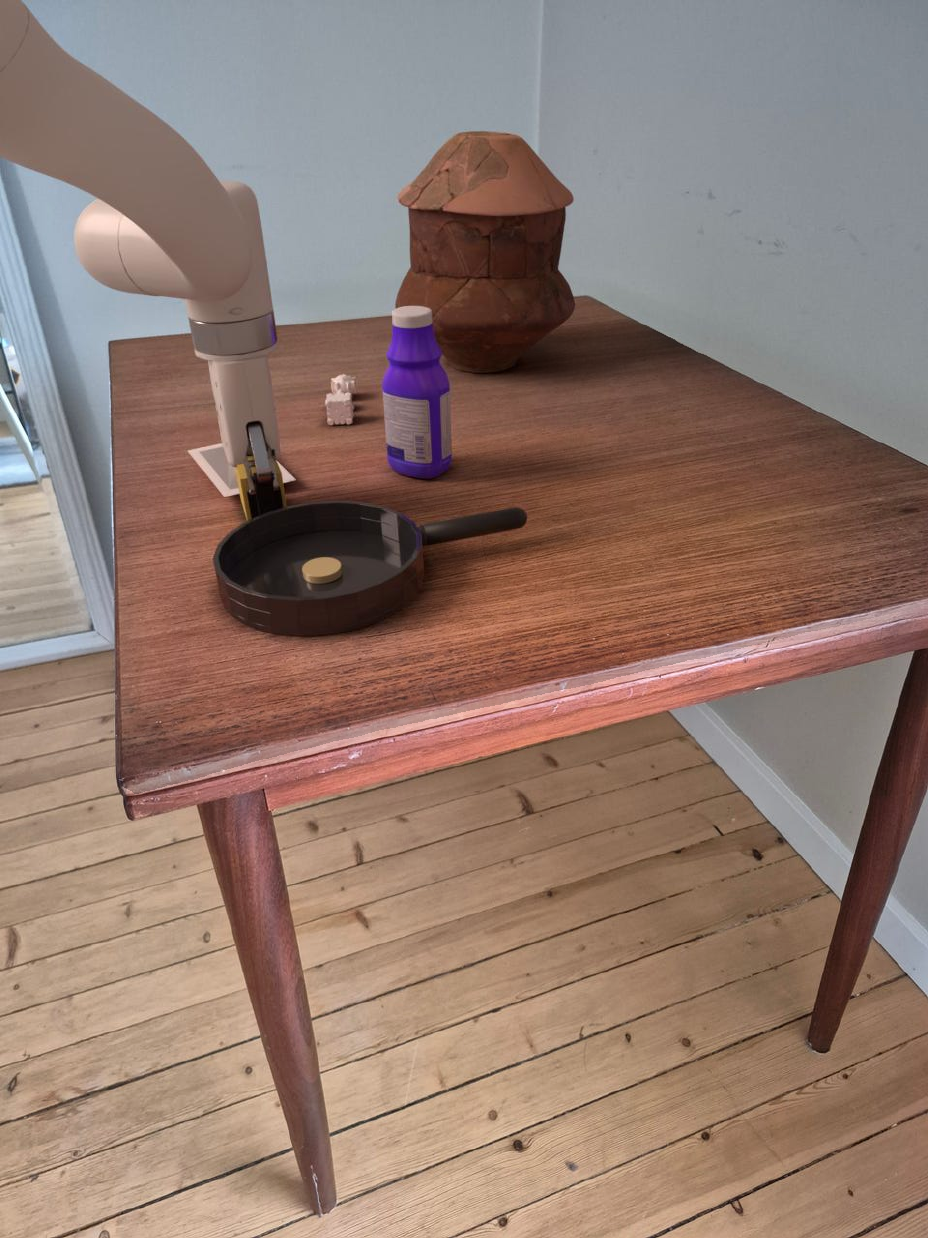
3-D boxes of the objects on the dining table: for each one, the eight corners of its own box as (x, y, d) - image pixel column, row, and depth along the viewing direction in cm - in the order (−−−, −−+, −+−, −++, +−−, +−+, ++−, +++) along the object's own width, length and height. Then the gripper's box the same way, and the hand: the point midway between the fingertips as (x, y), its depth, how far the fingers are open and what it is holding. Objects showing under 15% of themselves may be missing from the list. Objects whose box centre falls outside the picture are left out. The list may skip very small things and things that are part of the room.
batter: (306, 587, 78) (305, 579, 77) (299, 568, 81) (298, 561, 80) (346, 579, 79) (345, 571, 78) (337, 561, 82) (337, 553, 81)
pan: (233, 655, 71) (225, 618, 69) (211, 553, 85) (204, 520, 83) (450, 610, 75) (448, 573, 73) (394, 520, 90) (392, 488, 88)
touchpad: (226, 506, 94) (222, 487, 92) (189, 459, 105) (185, 441, 103) (297, 489, 97) (294, 470, 95) (253, 445, 108) (250, 427, 107)
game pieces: (353, 425, 112) (350, 400, 111) (326, 426, 112) (323, 401, 110) (358, 393, 122) (355, 370, 121) (333, 394, 122) (331, 371, 121)
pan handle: (416, 551, 81) (415, 532, 79) (410, 542, 82) (409, 522, 81) (530, 530, 83) (530, 510, 82) (522, 521, 85) (522, 502, 84)
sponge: (249, 531, 89) (239, 479, 86) (242, 508, 93) (233, 458, 90) (289, 524, 90) (281, 472, 87) (280, 502, 94) (272, 452, 91)
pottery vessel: (383, 348, 140) (366, 130, 124) (538, 331, 145) (541, 120, 129) (420, 400, 119) (405, 146, 103) (600, 378, 124) (612, 133, 108)
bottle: (462, 467, 100) (456, 306, 91) (433, 485, 96) (424, 320, 87) (408, 455, 104) (398, 299, 94) (379, 472, 100) (365, 312, 90)
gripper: (185, 315, 87) (218, 487, 97) (200, 365, 73) (238, 558, 83) (262, 307, 89) (287, 475, 99) (291, 353, 75) (317, 544, 85)
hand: (264, 511), depth 91 cm, fingers closed on sponge, 5 cm apart
